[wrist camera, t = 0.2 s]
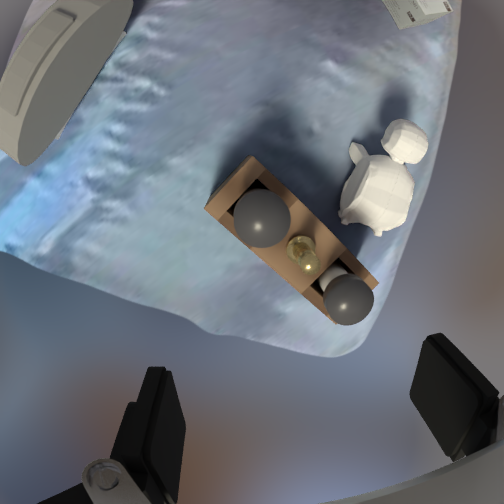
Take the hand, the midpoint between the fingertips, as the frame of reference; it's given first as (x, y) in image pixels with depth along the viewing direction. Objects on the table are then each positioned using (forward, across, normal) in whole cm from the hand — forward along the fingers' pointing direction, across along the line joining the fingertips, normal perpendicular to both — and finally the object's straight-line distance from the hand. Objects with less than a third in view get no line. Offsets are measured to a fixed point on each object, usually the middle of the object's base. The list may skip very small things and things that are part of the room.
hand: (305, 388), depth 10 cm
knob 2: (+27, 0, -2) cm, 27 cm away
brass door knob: (+23, -4, +2) cm, 23 cm away
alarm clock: (+31, +22, -21) cm, 43 cm away
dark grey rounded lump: (+27, -8, +6) cm, 29 cm away
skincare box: (+31, -24, -30) cm, 49 cm away
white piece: (+31, -16, -5) cm, 35 cm away
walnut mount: (+31, -4, +2) cm, 31 cm away
